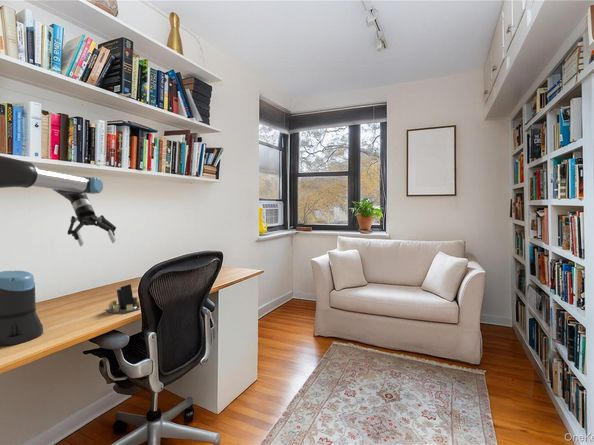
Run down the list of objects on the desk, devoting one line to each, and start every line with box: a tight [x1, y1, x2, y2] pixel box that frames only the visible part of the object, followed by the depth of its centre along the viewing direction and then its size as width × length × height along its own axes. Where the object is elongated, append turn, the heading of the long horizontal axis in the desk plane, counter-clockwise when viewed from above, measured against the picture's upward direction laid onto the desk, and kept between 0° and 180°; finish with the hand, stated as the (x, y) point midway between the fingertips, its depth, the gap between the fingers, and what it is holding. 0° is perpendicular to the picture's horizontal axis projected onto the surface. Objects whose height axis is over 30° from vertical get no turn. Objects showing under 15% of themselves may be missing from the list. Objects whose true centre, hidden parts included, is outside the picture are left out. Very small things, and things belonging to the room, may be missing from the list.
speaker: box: [116, 283, 134, 310], centre depth 148 cm, size 8×6×10 cm
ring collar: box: [107, 296, 141, 315], centre depth 148 cm, size 15×15×3 cm
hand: (98, 242), depth 150 cm, fingers open, 13 cm apart
